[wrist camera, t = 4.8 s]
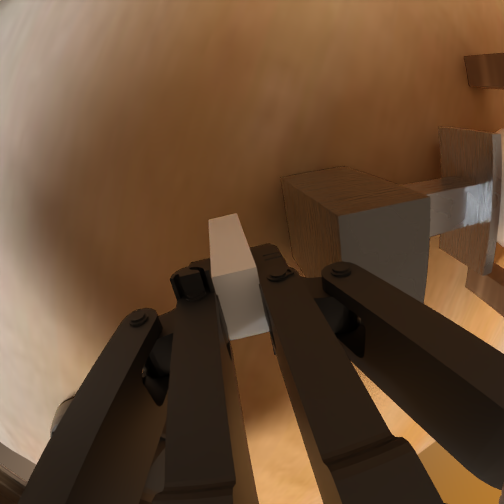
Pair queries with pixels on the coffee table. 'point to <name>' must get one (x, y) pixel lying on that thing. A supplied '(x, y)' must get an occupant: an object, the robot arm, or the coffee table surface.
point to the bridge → (499, 280)
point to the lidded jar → (503, 226)
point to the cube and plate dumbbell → (400, 214)
